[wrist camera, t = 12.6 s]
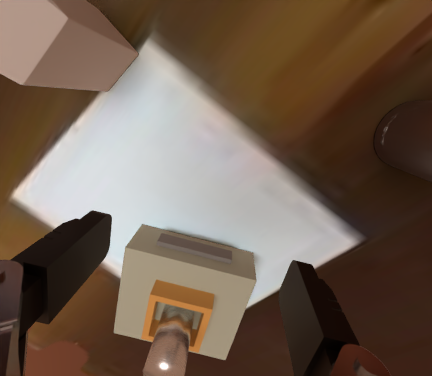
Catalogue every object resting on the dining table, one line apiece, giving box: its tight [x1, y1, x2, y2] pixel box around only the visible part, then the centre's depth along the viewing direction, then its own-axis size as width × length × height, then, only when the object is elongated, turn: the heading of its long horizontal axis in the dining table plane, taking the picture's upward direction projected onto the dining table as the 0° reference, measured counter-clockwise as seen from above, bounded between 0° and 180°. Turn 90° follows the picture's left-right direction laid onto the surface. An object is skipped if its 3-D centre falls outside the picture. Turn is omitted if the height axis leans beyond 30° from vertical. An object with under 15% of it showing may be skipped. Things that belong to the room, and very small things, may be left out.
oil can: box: [143, 304, 195, 376], centre depth 34 cm, size 7×5×10 cm
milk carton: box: [0, 0, 138, 91], centre depth 24 cm, size 7×7×19 cm
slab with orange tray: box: [114, 224, 256, 360], centre depth 40 cm, size 20×19×10 cm
